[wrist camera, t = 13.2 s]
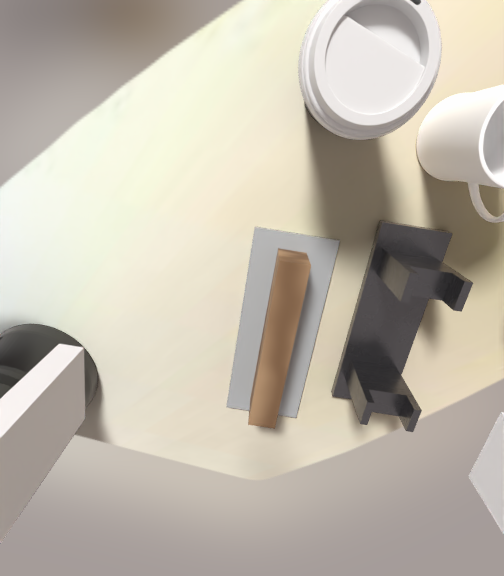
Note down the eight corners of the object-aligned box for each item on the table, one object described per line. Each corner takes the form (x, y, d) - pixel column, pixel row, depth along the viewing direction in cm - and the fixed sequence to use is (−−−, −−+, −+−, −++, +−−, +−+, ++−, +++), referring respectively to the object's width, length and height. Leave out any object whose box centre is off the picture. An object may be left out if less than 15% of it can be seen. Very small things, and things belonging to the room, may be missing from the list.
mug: (490, 207, 40) (575, 229, 29) (411, 214, 41) (465, 239, 30) (505, 88, 36) (611, 61, 25) (418, 98, 37) (483, 77, 26)
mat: (226, 405, 52) (226, 407, 51) (254, 226, 42) (254, 227, 42) (295, 415, 52) (296, 417, 52) (339, 240, 43) (339, 241, 42)
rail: (250, 399, 51) (248, 424, 46) (278, 248, 43) (279, 260, 38) (274, 402, 51) (274, 428, 46) (306, 252, 43) (311, 265, 38)
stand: (331, 391, 50) (344, 443, 41) (379, 220, 41) (409, 239, 33) (388, 400, 50) (413, 453, 42) (448, 231, 42) (496, 253, 33)
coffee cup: (401, 98, 37) (482, 68, 23) (324, 161, 39) (355, 169, 26) (348, 12, 35) (402, -80, 21) (269, 85, 37) (270, 47, 23)
